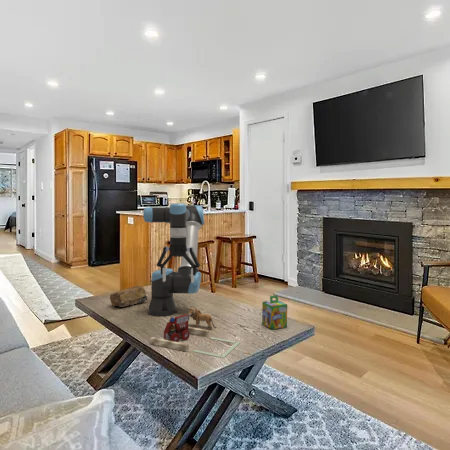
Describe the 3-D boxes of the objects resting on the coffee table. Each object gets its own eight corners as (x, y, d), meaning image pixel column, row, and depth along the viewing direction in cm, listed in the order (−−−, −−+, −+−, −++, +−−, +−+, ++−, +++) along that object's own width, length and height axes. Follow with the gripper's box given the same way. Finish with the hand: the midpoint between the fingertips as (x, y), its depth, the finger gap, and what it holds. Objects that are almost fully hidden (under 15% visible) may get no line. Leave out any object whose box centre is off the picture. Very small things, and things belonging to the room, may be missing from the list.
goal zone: (192, 351, 146) (192, 351, 146) (211, 337, 161) (211, 337, 161) (223, 358, 140) (223, 357, 140) (240, 342, 155) (240, 342, 155)
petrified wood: (122, 309, 199) (119, 292, 200) (108, 310, 207) (105, 293, 207) (148, 300, 215) (145, 284, 215) (135, 301, 223) (132, 285, 223)
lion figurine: (186, 326, 174) (186, 308, 174) (191, 323, 179) (191, 305, 179) (214, 330, 169) (214, 312, 169) (218, 327, 174) (218, 308, 174)
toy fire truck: (160, 340, 158) (160, 317, 157) (184, 333, 166) (184, 311, 165) (168, 345, 153) (168, 321, 152) (192, 338, 160) (192, 315, 160)
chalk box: (272, 330, 170) (272, 299, 169) (261, 324, 178) (261, 295, 177) (287, 327, 174) (288, 297, 173) (276, 321, 182) (277, 292, 181)
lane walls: (150, 344, 154) (150, 338, 153) (175, 329, 171) (175, 324, 171) (186, 351, 146) (186, 345, 146) (208, 335, 163) (208, 330, 163)
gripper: (149, 237, 165) (150, 282, 167) (203, 238, 162) (203, 284, 164) (154, 235, 173) (155, 279, 174) (205, 236, 170) (205, 280, 171)
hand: (178, 281), depth 169 cm, fingers open, 13 cm apart
